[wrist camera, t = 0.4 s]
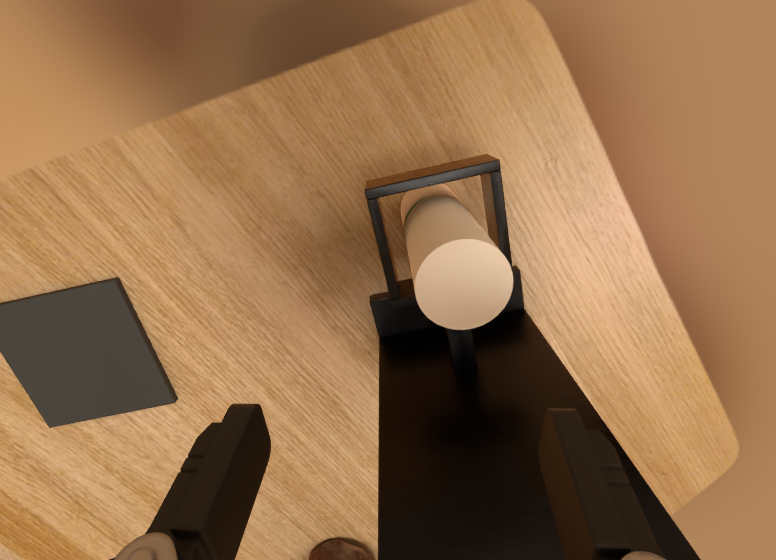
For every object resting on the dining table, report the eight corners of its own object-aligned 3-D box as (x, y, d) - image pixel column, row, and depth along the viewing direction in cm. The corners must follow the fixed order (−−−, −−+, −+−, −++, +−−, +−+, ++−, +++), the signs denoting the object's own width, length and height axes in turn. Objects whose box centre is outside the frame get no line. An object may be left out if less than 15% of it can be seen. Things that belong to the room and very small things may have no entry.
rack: (338, 176, 32) (253, 323, 10) (501, 139, 31) (769, 216, 10) (390, 376, 38) (403, 717, 17) (526, 350, 38) (717, 672, 16)
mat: (-20, 307, 35) (-27, 310, 35) (118, 277, 34) (114, 280, 34) (53, 423, 40) (49, 428, 39) (178, 398, 39) (175, 403, 38)
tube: (449, 172, 32) (503, 226, 18) (462, 227, 33) (521, 315, 19) (393, 189, 32) (403, 254, 18) (408, 242, 34) (428, 340, 20)
